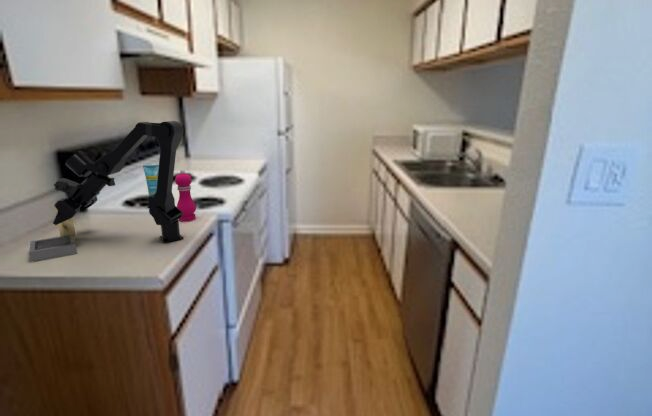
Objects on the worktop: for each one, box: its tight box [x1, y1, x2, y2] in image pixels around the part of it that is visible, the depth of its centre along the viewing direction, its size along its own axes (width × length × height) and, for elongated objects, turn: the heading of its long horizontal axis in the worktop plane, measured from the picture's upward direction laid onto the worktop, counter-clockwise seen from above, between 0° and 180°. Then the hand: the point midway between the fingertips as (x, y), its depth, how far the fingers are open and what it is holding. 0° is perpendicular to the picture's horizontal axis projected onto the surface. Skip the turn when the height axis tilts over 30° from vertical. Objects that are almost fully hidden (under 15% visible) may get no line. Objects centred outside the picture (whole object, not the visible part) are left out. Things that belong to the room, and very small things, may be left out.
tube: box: [142, 164, 159, 197], centre depth 167 cm, size 7×5×19 cm, turn 103°
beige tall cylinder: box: [53, 201, 77, 240], centre depth 129 cm, size 4×4×13 cm
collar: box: [28, 234, 78, 263], centre depth 119 cm, size 11×11×3 cm
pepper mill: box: [174, 169, 197, 222], centre depth 150 cm, size 7×7×20 cm
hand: (61, 220), depth 129 cm, fingers open, 9 cm apart
